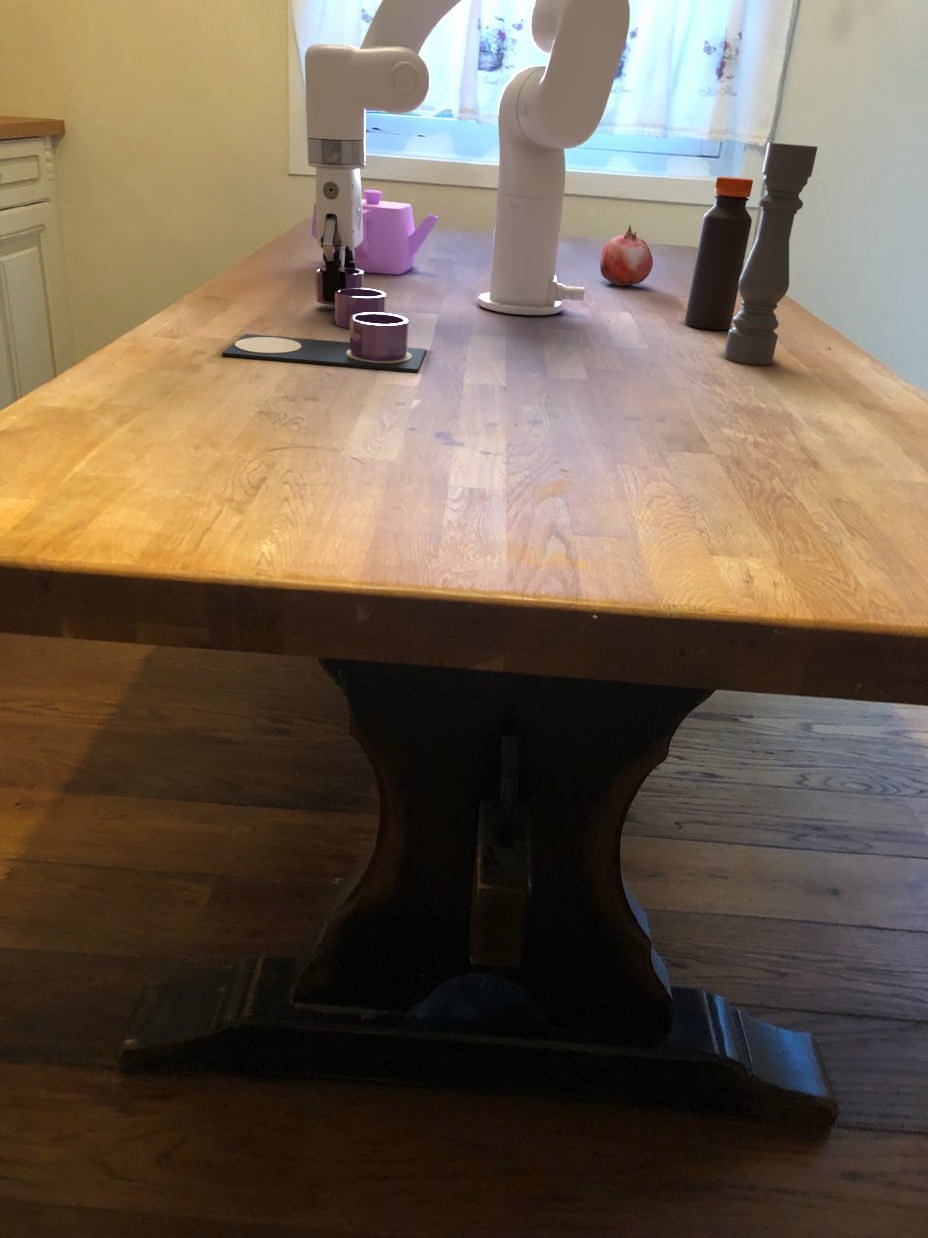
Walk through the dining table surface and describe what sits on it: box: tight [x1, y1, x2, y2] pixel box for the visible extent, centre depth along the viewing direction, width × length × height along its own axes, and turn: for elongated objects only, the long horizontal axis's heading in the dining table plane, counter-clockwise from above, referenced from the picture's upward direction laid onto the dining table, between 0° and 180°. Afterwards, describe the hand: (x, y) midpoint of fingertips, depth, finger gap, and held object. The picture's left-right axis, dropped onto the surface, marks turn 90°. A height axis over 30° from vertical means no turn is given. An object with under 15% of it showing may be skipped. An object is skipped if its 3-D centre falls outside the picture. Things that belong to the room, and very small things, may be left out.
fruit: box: [599, 224, 654, 287], centre depth 167 cm, size 9×10×10 cm
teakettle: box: [311, 189, 439, 275], centre depth 164 cm, size 17×17×12 cm
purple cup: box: [314, 267, 365, 306], centre depth 132 cm, size 6×7×4 cm
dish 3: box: [349, 313, 409, 361], centre depth 109 cm, size 6×7×4 cm
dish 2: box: [334, 287, 387, 329], centre depth 125 cm, size 6×7×4 cm
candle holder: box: [723, 142, 819, 366], centre depth 117 cm, size 6×6×25 cm
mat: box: [221, 333, 427, 374], centre depth 110 cm, size 22×10×1 cm, turn 86°
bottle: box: [684, 176, 754, 331], centre depth 136 cm, size 7×7×20 cm
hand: (339, 295), depth 133 cm, fingers closed on purple cup, 6 cm apart
